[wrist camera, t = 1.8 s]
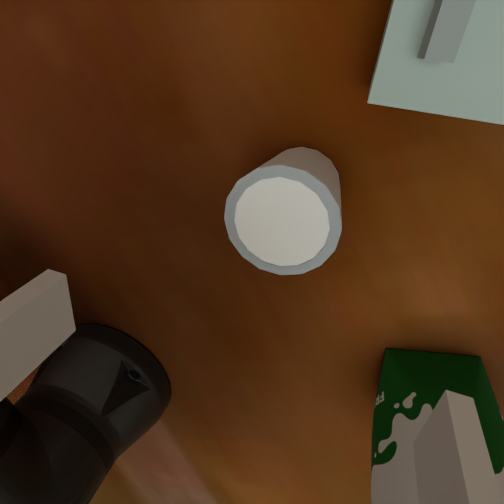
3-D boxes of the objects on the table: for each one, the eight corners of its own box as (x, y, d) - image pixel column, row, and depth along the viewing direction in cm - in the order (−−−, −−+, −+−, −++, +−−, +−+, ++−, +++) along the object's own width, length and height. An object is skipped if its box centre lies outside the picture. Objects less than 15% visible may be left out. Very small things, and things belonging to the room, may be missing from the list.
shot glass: (362, 214, 26) (358, 262, 20) (276, 238, 29) (251, 286, 23) (331, 121, 24) (316, 145, 18) (241, 158, 27) (203, 188, 21)
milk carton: (479, 423, 32) (593, 832, 15) (371, 408, 35) (368, 739, 18) (495, 348, 28) (672, 788, 11) (372, 337, 31) (370, 678, 14)
